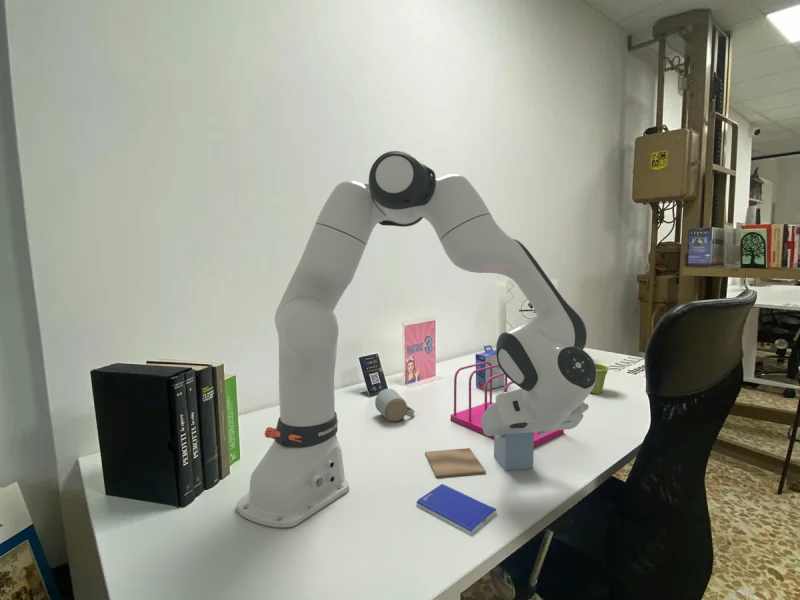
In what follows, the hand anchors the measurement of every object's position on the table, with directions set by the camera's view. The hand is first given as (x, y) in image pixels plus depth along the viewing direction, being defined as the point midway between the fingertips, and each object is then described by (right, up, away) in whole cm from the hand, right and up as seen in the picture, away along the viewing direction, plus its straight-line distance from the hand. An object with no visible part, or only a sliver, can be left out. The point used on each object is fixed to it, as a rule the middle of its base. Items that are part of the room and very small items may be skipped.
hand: (519, 433), depth 92 cm
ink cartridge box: (+6, -2, +58) cm, 58 cm away
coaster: (-14, -8, +4) cm, 16 cm away
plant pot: (+39, -2, +52) cm, 65 cm away
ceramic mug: (-27, -5, +31) cm, 42 cm away
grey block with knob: (-1, -8, +4) cm, 9 cm away
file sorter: (+3, -6, +24) cm, 24 cm away
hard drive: (-16, -11, -13) cm, 23 cm away
